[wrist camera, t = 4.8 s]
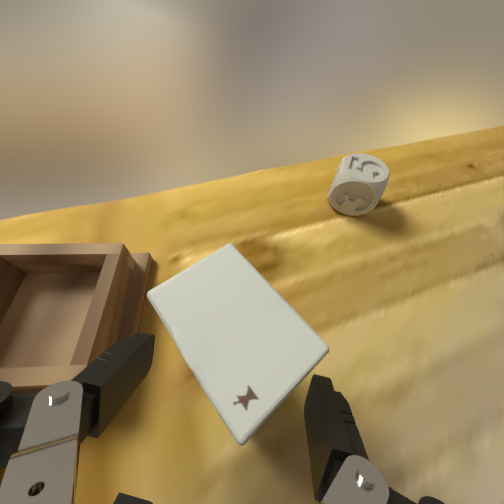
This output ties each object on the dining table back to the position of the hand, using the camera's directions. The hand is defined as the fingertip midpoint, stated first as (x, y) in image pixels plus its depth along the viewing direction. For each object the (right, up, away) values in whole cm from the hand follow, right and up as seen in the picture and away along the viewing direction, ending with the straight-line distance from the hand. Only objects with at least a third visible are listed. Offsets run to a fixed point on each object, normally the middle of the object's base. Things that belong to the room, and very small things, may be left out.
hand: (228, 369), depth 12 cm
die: (+13, +12, +18) cm, 25 cm away
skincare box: (0, -3, +7) cm, 8 cm away
